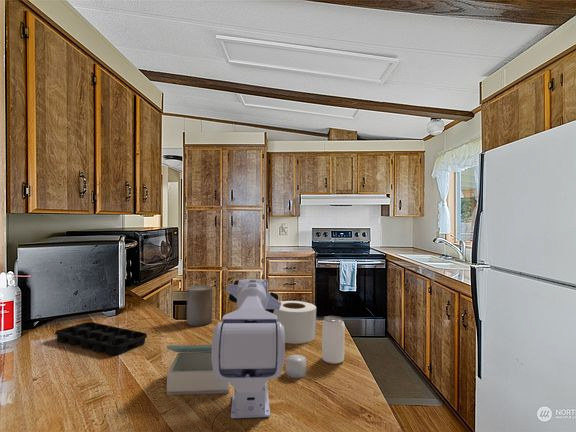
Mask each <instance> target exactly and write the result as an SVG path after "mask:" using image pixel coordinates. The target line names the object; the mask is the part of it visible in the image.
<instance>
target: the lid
mask: <svg viewBox="0 0 576 432" xmlns="http://www.w3.org/2000/svg"><path fill="white" fill-rule="evenodd" d="M166 349H167V350H169V351H172V352H175V353H180V352H212V344H198V345H197V344H193V345H192V344H191V345H190V344H189V345H187V344H186V345H185V344H184V345H167V347H166Z"/></svg>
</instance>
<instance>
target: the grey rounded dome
mask: <svg viewBox="0 0 576 432" xmlns="http://www.w3.org/2000/svg"><path fill="white" fill-rule="evenodd" d="M285 359H286V362H285V364H286V368H285V370H286V371H285V374H286V375H287V377H289V378H291V379H300V378H304V377H305V376H306V373H307V358H306V356H304V355H302V354H291V355H287V357H286V358H285Z"/></svg>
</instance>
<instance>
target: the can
mask: <svg viewBox="0 0 576 432" xmlns="http://www.w3.org/2000/svg"><path fill="white" fill-rule="evenodd" d="M345 328H346V327H345V322H344V318H343V317H341V316H335V315H328V316H324V317H323V321H322V329H321V330H322V332H321V335H322V336H321V359H322V361H324V363H326V364H327V363H328V364H331V365H339V364H342V363H343V362H344V361H345Z"/></svg>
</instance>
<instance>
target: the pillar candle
mask: <svg viewBox="0 0 576 432" xmlns="http://www.w3.org/2000/svg"><path fill="white" fill-rule="evenodd" d="M212 322H213V286H211V285H206V284H205V285H204V284H203V285H202V284H199V285H192V286H189V287H187V288H186V324H187V325H189V326H190V327H201V326H202V327H203V326H206V325H210V324H212Z"/></svg>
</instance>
